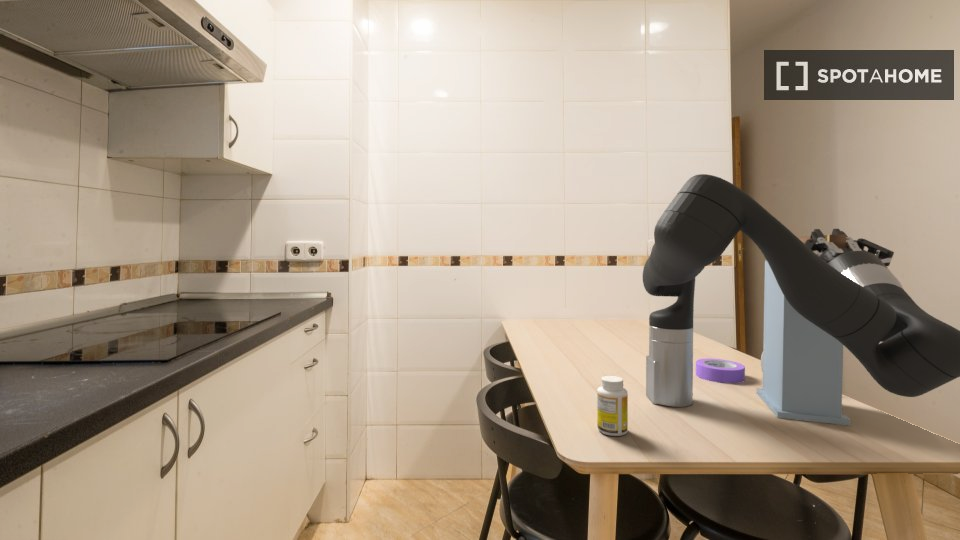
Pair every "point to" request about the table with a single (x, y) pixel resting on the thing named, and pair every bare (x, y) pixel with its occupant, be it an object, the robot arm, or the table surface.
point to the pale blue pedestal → (799, 363)
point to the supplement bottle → (612, 407)
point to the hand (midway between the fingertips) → (824, 233)
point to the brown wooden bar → (830, 239)
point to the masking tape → (720, 370)
